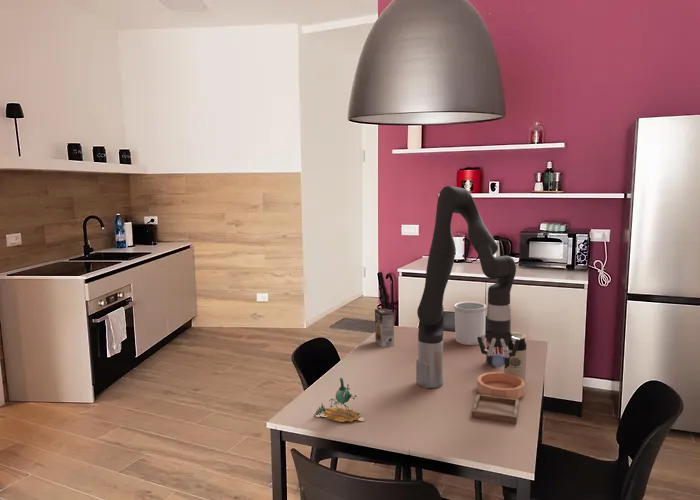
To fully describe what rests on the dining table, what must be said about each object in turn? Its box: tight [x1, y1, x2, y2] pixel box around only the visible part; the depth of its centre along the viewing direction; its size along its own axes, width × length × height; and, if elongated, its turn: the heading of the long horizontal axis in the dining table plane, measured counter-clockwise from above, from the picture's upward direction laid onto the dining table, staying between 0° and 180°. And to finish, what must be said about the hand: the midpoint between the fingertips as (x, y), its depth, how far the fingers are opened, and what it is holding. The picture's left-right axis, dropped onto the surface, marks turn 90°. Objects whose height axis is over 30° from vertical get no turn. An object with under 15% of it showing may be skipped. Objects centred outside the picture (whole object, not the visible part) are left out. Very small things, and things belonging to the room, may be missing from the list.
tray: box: [471, 393, 520, 425], centre depth 174 cm, size 14×14×2 cm
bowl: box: [476, 371, 526, 400], centre depth 190 cm, size 16×16×4 cm
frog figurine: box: [315, 377, 362, 423], centre depth 172 cm, size 10×18×15 cm, turn 68°
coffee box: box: [374, 308, 395, 348], centre depth 245 cm, size 9×6×16 cm
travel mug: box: [503, 331, 527, 382], centre depth 199 cm, size 8×8×18 cm
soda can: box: [485, 338, 504, 366], centre depth 218 cm, size 7×7×12 cm
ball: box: [492, 354, 505, 368], centre depth 172 cm, size 4×4×4 cm
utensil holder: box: [453, 300, 487, 346], centre depth 247 cm, size 15×15×18 cm
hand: (498, 366), depth 173 cm, fingers closed on ball, 4 cm apart
